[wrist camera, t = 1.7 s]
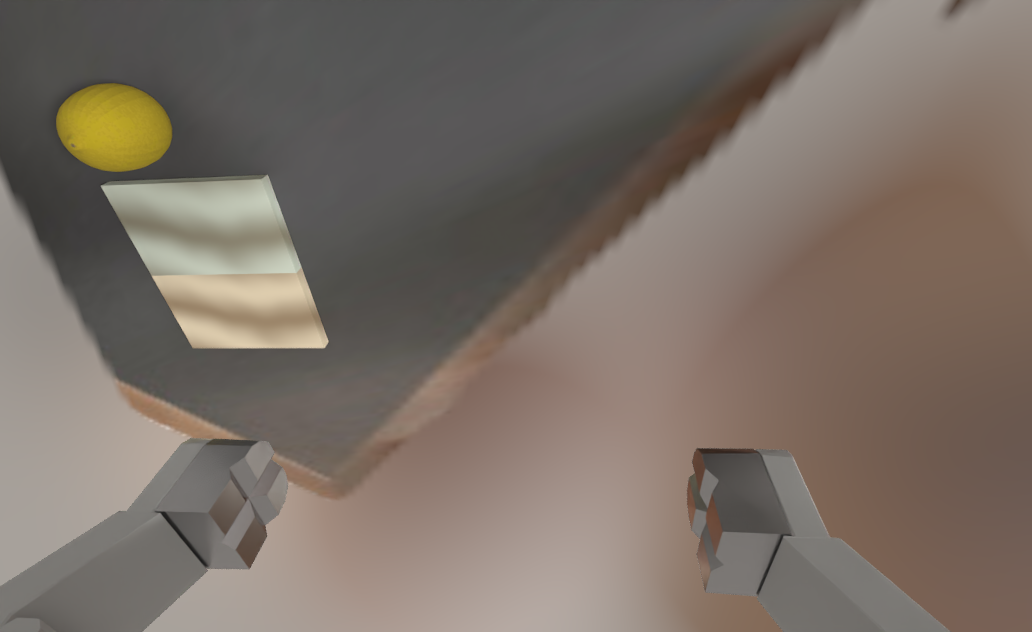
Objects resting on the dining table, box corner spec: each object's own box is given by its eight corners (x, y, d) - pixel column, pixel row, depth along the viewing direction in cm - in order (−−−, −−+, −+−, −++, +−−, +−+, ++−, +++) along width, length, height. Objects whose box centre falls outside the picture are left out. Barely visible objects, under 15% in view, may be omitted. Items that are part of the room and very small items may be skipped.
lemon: (127, 139, 39) (39, 174, 33) (112, 63, 36) (11, 86, 29) (198, 159, 40) (126, 197, 33) (190, 86, 36) (108, 113, 30)
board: (109, 181, 41) (100, 185, 41) (267, 174, 40) (261, 179, 39) (198, 342, 51) (192, 348, 50) (328, 341, 50) (324, 348, 49)
